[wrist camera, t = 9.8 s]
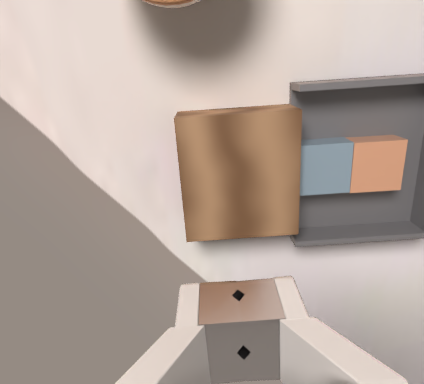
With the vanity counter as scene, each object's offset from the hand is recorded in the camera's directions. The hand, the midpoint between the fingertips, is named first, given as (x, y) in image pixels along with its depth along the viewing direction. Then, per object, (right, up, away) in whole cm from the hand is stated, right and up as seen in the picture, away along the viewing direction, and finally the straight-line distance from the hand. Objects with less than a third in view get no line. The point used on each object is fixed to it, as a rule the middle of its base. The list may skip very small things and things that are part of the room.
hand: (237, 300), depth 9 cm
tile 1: (+15, +5, +23) cm, 28 cm away
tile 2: (+10, +6, +25) cm, 28 cm away
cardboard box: (+2, +6, +26) cm, 27 cm away
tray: (+14, +6, +26) cm, 30 cm away
